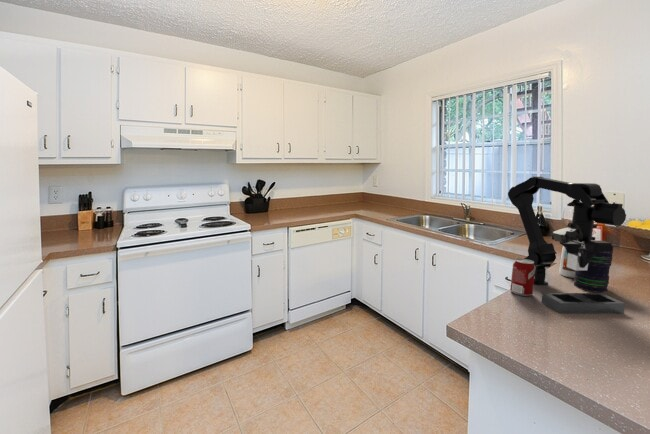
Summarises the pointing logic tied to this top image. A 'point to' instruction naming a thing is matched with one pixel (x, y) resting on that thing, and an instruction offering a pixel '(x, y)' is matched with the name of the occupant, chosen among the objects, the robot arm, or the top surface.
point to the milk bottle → (563, 265)
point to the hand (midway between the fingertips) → (577, 265)
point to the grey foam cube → (575, 261)
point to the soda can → (523, 277)
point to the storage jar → (595, 273)
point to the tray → (582, 303)
